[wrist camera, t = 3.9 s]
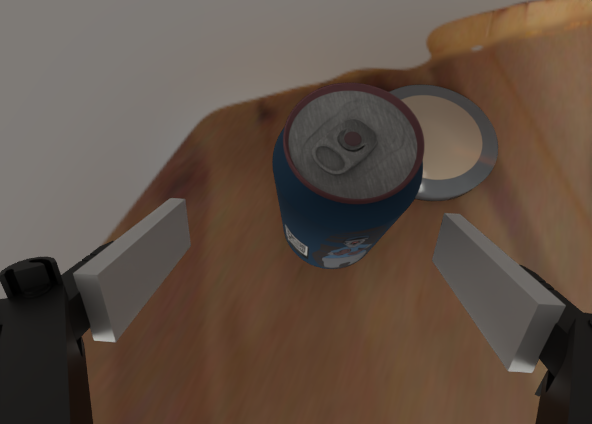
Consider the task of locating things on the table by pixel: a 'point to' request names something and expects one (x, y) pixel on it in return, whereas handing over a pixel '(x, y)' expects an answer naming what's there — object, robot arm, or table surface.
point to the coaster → (450, 141)
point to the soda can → (346, 171)
